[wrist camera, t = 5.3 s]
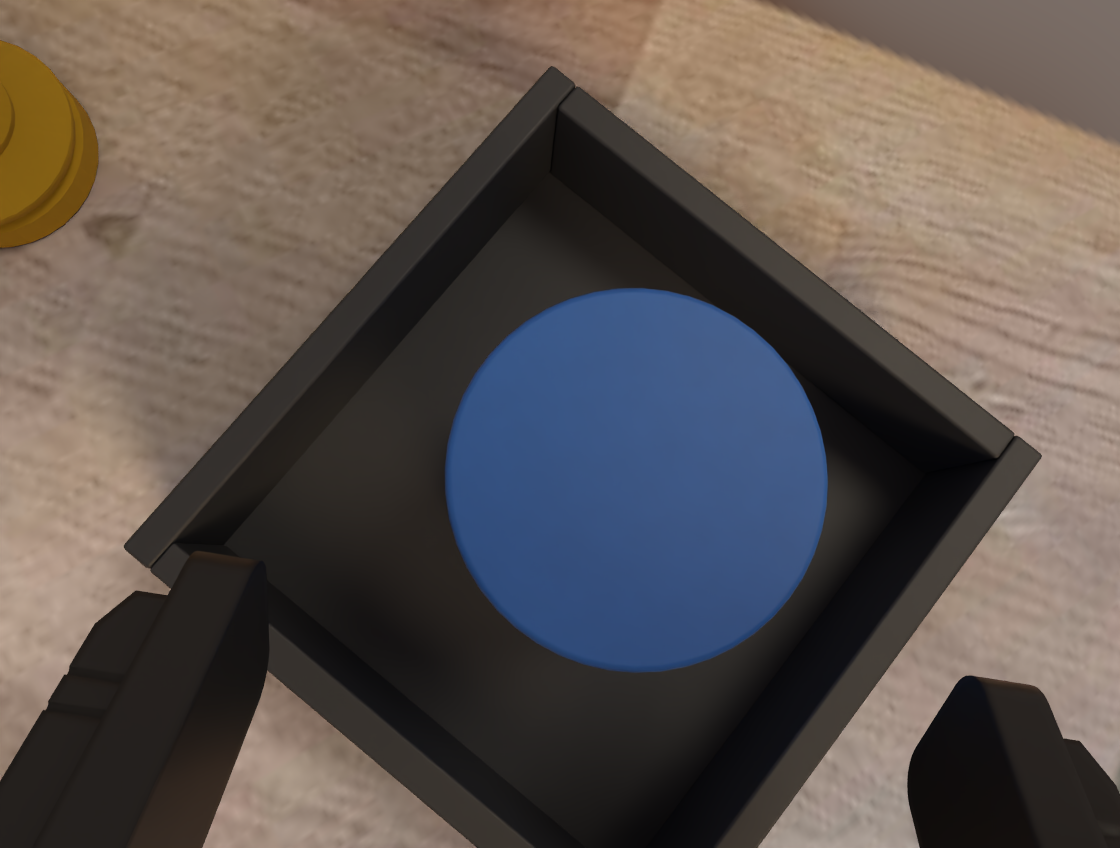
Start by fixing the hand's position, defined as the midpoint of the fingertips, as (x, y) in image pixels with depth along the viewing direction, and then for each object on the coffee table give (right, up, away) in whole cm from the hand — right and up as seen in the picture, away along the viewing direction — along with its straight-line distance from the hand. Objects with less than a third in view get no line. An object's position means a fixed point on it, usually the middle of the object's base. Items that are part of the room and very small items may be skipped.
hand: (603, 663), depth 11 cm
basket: (0, +1, +9) cm, 9 cm away
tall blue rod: (0, +1, +8) cm, 8 cm away
